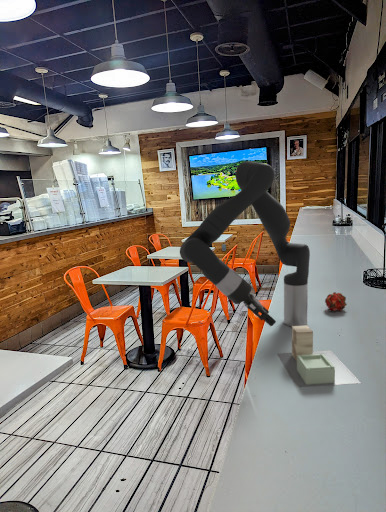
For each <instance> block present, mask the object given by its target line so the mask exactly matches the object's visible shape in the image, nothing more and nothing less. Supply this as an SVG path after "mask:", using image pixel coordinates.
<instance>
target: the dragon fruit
mask: <svg viewBox="0 0 386 512" xmlns="http://www.w3.org/2000/svg"><path fill="white" fill-rule="evenodd" d="M346 300H347V298H346V296H345V295H343V294H342V293H341V292H336V291H335V292H332V293H329V294H328V295H327V296H326V298H325V300H324V303H325V306H326V307H327V308H328V309H329V311H330V312H337V311H338V312H341V311H342V310H344V309H345V308H346V306H347V305H348V303H346Z"/></svg>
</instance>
